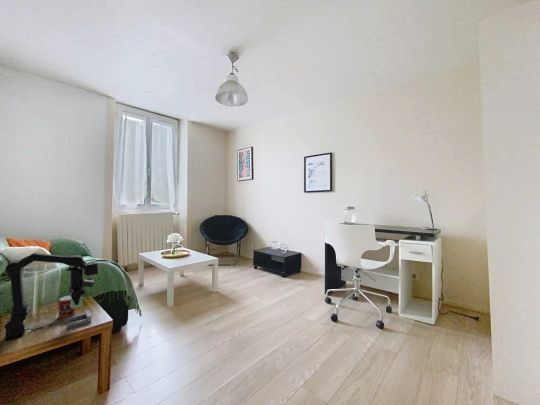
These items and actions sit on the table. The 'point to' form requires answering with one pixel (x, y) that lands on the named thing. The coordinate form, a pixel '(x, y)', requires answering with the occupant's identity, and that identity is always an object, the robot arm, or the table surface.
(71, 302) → the chute block
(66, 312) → the canned food
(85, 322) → the side mount
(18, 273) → the robot arm
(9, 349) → the table surface
